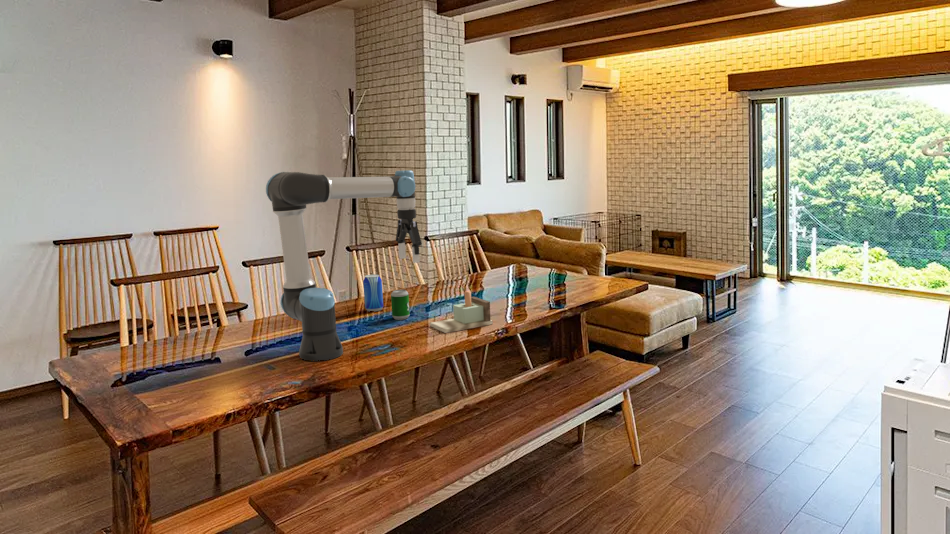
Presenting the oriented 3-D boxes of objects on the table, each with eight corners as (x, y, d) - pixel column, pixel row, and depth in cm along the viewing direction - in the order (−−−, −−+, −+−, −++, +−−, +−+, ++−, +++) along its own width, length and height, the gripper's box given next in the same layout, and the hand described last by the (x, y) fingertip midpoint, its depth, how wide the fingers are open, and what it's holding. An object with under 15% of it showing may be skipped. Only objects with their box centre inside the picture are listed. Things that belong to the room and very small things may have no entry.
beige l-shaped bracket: (445, 333, 250) (444, 309, 248) (430, 326, 261) (429, 303, 259) (492, 324, 261) (491, 301, 259) (476, 317, 272) (475, 296, 270)
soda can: (406, 320, 272) (405, 292, 270) (389, 320, 274) (388, 292, 272) (411, 316, 279) (410, 289, 277) (395, 315, 281) (394, 289, 279)
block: (464, 323, 256) (464, 309, 255) (453, 319, 264) (453, 305, 263) (483, 320, 261) (483, 305, 260) (472, 316, 268) (472, 302, 267)
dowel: (467, 321, 261) (466, 292, 259) (464, 320, 263) (463, 291, 261) (473, 320, 262) (472, 291, 260) (470, 319, 264) (468, 290, 262)
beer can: (364, 308, 297) (361, 275, 294) (382, 306, 299) (379, 273, 296) (366, 312, 289) (364, 278, 286) (384, 310, 291) (382, 276, 289)
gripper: (428, 209, 250) (431, 263, 253) (402, 206, 271) (405, 256, 274) (410, 211, 246) (413, 265, 249) (385, 208, 267) (388, 258, 271)
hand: (409, 260), depth 262 cm, fingers open, 13 cm apart
